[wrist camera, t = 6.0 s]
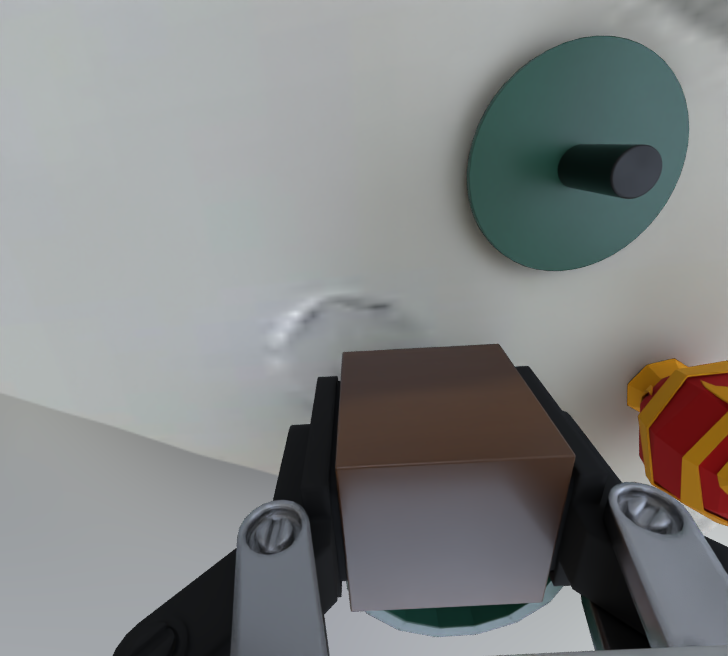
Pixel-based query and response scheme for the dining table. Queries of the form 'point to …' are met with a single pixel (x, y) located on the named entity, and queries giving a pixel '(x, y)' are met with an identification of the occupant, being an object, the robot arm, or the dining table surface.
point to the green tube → (461, 616)
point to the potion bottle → (685, 432)
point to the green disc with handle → (578, 153)
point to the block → (446, 479)
